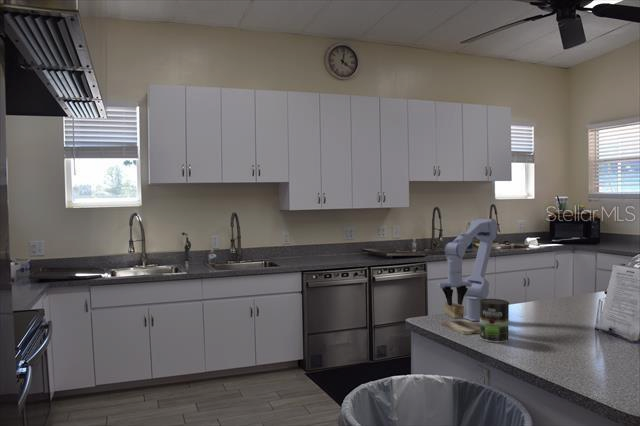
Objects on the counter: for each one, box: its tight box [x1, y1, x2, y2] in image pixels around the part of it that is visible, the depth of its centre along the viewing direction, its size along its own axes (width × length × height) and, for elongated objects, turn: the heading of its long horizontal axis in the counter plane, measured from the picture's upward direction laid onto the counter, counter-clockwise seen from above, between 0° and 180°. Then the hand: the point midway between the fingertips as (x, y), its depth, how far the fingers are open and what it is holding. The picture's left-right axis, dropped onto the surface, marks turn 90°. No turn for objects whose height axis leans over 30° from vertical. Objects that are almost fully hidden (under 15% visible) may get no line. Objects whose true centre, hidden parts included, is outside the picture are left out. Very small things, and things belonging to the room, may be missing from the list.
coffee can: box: [479, 298, 510, 344], centre depth 187 cm, size 10×10×14 cm
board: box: [441, 319, 480, 335], centre depth 203 cm, size 12×16×1 cm
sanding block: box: [444, 301, 465, 320], centre depth 209 cm, size 4×8×5 cm, turn 15°
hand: (454, 304), depth 208 cm, fingers closed on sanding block, 4 cm apart
